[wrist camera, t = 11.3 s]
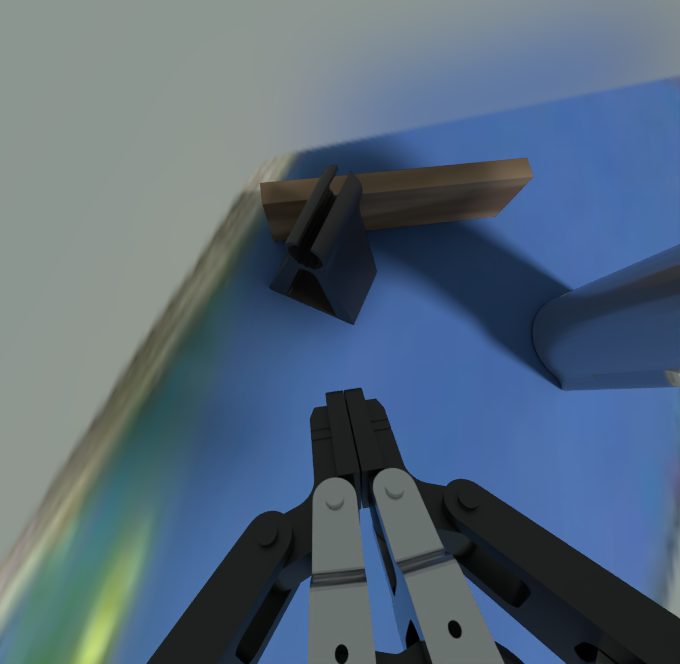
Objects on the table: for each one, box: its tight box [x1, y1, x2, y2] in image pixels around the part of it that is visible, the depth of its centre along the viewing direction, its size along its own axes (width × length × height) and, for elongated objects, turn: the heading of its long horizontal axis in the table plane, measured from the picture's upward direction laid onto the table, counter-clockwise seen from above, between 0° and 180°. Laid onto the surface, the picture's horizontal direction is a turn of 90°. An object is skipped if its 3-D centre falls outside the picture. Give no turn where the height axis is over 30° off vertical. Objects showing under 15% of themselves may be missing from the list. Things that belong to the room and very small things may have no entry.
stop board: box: [260, 158, 533, 241], centre depth 29 cm, size 2×24×6 cm, turn 99°
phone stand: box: [269, 165, 377, 325], centre depth 24 cm, size 9×6×12 cm, turn 66°
